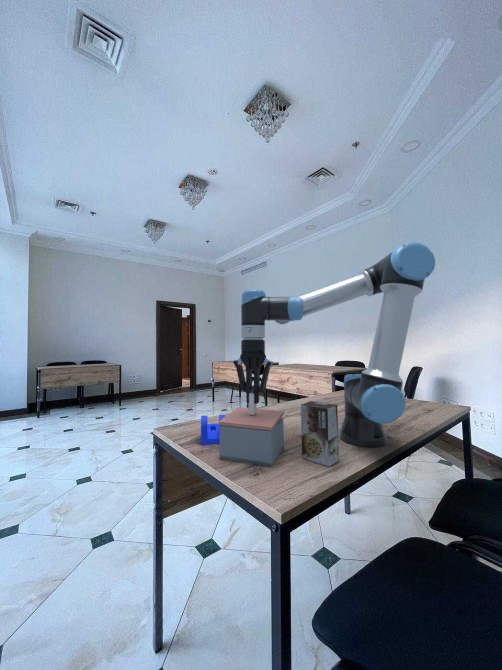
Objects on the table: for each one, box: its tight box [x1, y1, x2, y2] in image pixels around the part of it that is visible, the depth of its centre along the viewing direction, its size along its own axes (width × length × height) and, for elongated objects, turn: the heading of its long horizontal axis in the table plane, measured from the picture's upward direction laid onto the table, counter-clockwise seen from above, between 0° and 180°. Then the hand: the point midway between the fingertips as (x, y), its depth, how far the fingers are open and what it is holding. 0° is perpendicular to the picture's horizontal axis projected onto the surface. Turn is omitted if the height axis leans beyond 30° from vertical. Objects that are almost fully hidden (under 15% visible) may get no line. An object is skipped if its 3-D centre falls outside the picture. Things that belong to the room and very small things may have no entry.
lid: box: [218, 407, 285, 431], centre depth 86 cm, size 16×14×1 cm
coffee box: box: [300, 400, 340, 467], centre depth 82 cm, size 9×6×16 cm
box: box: [219, 417, 285, 468], centre depth 86 cm, size 16×14×10 cm
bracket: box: [200, 414, 226, 446], centre depth 103 cm, size 18×8×9 cm, turn 8°
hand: (252, 413), depth 88 cm, fingers closed
